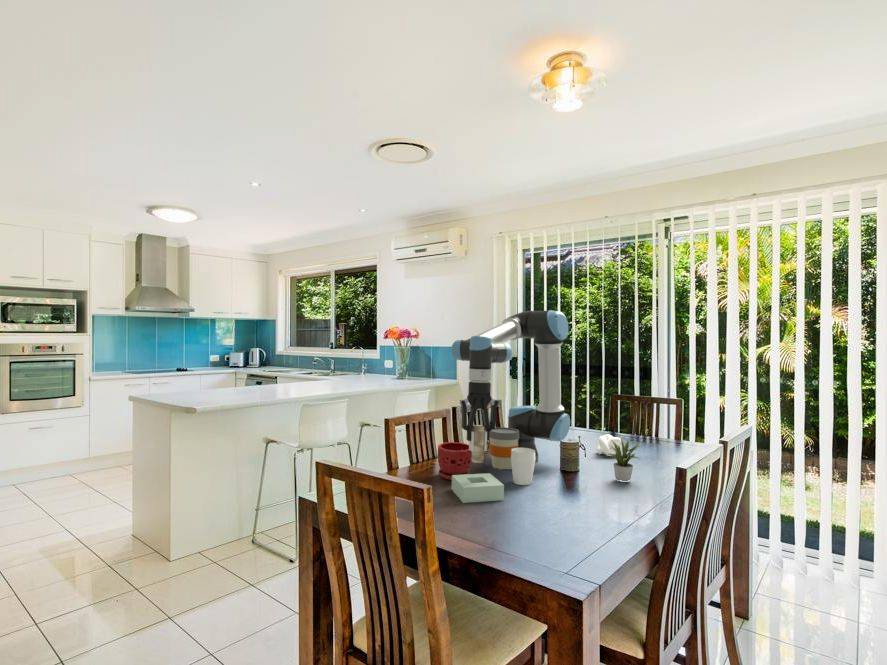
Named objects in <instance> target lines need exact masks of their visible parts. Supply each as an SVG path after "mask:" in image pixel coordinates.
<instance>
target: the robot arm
mask: <svg viewBox="0 0 887 665" xmlns="http://www.w3.org/2000/svg"><path fill="white" fill-rule="evenodd" d="M568 334H569V322H568V319H567V316H566V315H565V314H564V313H563V312H561V311H559V310H550V309H549V310H527V311H526V310H525V311H521V312H518V313H515V314H513V315H511V316H509V317H507V318H505V319H503V320H502V322H501V323H500V324H497V325H496V326H495V325H494V326H493V327H491V328H489V329H487V330H485V331H483V332H480V333H478V334H477V335H472V336H471V337H470V338H468V339H459V340H458V339H457V340H455V341H454V342H453V343H452V344H451V347H450V348H451V356H452V357H453V359H455V360H457V361H462V362H464V361H465V362H469V366H468V380H469V382H468V391H467V393H468V394H467V396H466V398H464V399H459V404H460V406H461V408H460V411H461V414H460V416H461V418H460V419H461V421H460V423H461V428H462V430H465V431H466V440H467V441H468V443H469V444H468V445H469V450H470V451H474V432H473V431H472V429H473V425H474V421H475V419H476V414H477V412H478V410H480V411H481V414H482V421H483V426H484V452H486V451H487V447H488V441H490V431H491V430H492V429H495V428H496V423H497V408H498V405H499V404H500V403H499V402H500V401H499V400H498V399H494V398H493V397H492V396H491V394H492V393H491V392H492V391H491V389H492V384H491V380H492V364H503V363H507V362H509V360H510V359H511V358H512V355H513V349H512V347H511V345H510V343H508V342H509V341H515V340H518V339H532V340H533V339H534V345H535V346H536V347H537V351H538V352H537V353H538V356H537V357H538V392H539V394H538V395H539V396H538V398H539V404H538V405H537V406H536V405H519V406H512V407H511V408H509V409H508V417H507V419H508V420H507V423H508V424H507V428H513V429H517V430H519V439H518V445H519V446H518V448H530V449H533V450H535V458H536V459H535V463H537V462H539V453H538V449H537V445H536V442H535V441H536V439H542V440H545V441H550V442H562V441H564V440H565V439H566V437H567V436H568V434H569V430H570V426H571V418H570V415H569V414H568V413H565V407H564V406H563V404H561V368H560V367H561V365H560V363H561V361H560V360H561V359H560V357H561V356H560V347H561V346H562V345H564V340H566V339H567V338H568V336H569V335H568ZM468 404H469V405H470V407H469V408H470V411H469V415H468ZM489 404H490V405H491V406H490V416H489V414H488V406H489Z"/></svg>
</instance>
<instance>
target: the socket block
mask: <svg viewBox="0 0 887 665" xmlns="http://www.w3.org/2000/svg"><path fill="white" fill-rule="evenodd" d="M452 490H453V491H452ZM451 491H452V492H453V493H454V494H455V495H456V496H457V498H458V497H459V498H458V499H459V500H460V501H461V502H462V504H465V503H466V504H467V503H483V502H496V501H497V502H499V501H504V500H505V484H503V483H502V482H501V481H500V480H499V479H497V477H495V476H494V475H493V474H492V473H491V472H489V473H471V474H470V473H469V474H464V475H452V480H451Z"/></svg>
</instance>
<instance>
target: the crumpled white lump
mask: <svg viewBox="0 0 887 665" xmlns="http://www.w3.org/2000/svg"><path fill="white" fill-rule="evenodd" d="M621 439H622V438H620V437H616V436H615V437H614V436H613V435H611V434H609V433H608V434H607V433H606V434H604V435H601V436H599V437H598V441H597V443H596V448H595V450H596V453H597V454H598V453H601V454H604V455H606V456H607V457H608V456H612V455H607V454H615V455H616V452H615V450H616V449H615V447H614V444H613V442H612V441H614V443H615V444H616V445H617V446H619V447H620V450H621V451H622V444H621V443H622V442H621ZM611 440H612V441H611ZM608 443H609V444H610V445H609V444H608ZM611 445H612V446H613V448H614V449H615V450H614V449H613V448H612V447H611Z"/></svg>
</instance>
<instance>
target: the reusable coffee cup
mask: <svg viewBox="0 0 887 665" xmlns="http://www.w3.org/2000/svg"><path fill="white" fill-rule="evenodd" d="M518 439H519V430H517V429H513V428H508V427H502V426H501V427H495V429H492V430H491V431H490V438H489V444H488V447H489V454H490V455H491V466H492V467H493V468H494V469H496V468H498V469H497V470H502V469H509V470H512V465H511V450H512V449H513V448H518V446H519V445H518Z"/></svg>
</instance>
